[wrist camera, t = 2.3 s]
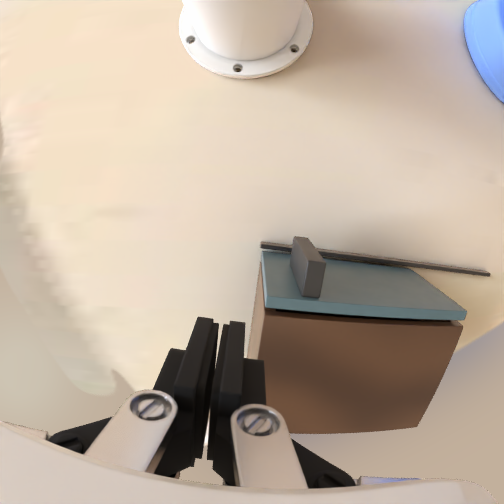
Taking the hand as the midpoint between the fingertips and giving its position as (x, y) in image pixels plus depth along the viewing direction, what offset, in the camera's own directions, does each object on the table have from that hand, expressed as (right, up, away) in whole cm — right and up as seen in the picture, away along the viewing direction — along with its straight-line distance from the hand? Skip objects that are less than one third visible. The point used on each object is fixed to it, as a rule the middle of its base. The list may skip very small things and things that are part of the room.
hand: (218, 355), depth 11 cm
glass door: (+10, +4, +19) cm, 22 cm away
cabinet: (+15, -3, +21) cm, 26 cm away
